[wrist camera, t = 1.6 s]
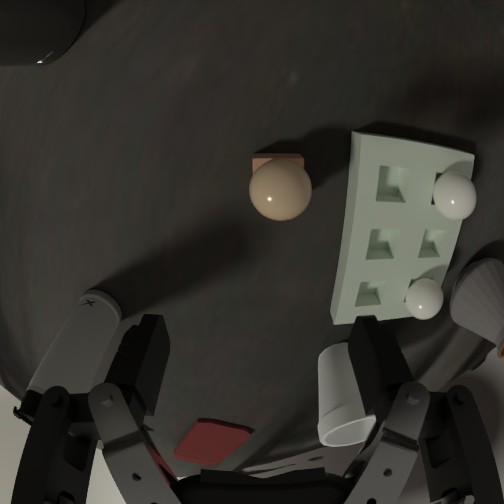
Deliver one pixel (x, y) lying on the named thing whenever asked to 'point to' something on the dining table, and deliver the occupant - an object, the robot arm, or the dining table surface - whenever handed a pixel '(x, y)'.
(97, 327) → the travel mug
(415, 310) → the white egg
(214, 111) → the dining table surface
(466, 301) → the coffee pot
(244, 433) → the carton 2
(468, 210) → the white egg
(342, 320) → the egg tray
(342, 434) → the foam cup
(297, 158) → the egg cup
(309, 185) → the brown egg
